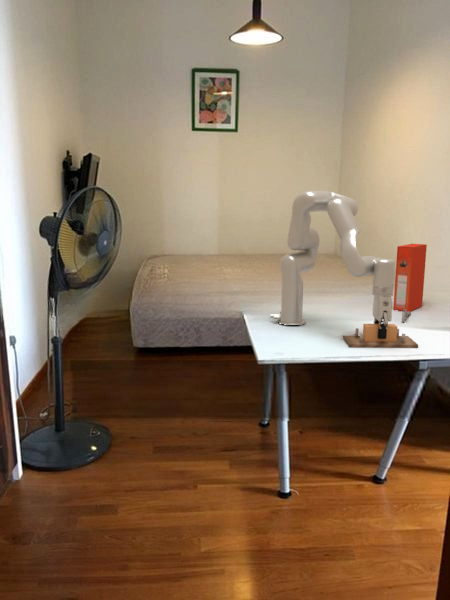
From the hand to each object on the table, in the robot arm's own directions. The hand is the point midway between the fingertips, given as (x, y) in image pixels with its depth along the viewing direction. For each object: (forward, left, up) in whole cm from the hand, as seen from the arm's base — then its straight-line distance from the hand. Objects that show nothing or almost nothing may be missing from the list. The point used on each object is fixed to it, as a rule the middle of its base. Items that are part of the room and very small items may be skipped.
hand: (379, 335), depth 196 cm
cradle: (0, 0, -3) cm, 3 cm away
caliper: (+24, +40, -3) cm, 47 cm away
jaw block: (0, 0, -2) cm, 2 cm away
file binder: (+31, +60, -3) cm, 68 cm away
